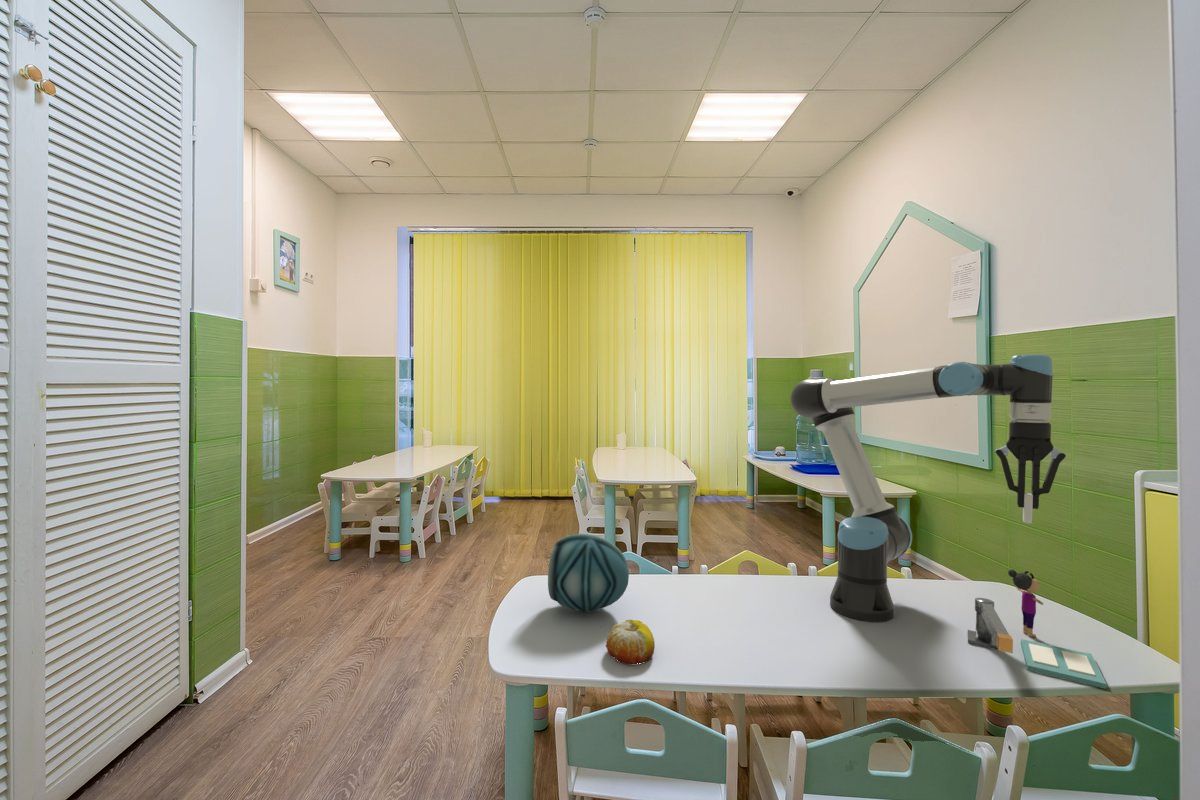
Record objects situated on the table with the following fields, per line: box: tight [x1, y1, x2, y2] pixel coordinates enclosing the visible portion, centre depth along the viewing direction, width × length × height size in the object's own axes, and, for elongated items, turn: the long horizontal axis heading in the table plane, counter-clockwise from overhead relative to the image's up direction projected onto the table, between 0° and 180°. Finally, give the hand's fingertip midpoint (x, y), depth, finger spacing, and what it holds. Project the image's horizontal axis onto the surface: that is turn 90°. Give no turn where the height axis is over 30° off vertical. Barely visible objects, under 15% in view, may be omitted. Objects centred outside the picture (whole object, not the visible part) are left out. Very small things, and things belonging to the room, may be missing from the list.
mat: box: [1020, 638, 1107, 690], centre depth 111 cm, size 12×14×1 cm
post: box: [967, 611, 999, 651], centre depth 121 cm, size 6×6×7 cm
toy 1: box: [547, 533, 630, 613], centre depth 136 cm, size 19×20×20 cm
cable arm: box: [974, 597, 1014, 654], centre depth 112 cm, size 22×4×3 cm, turn 153°
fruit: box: [605, 619, 656, 665], centre depth 114 cm, size 11×10×8 cm
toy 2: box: [1007, 569, 1044, 638], centre depth 125 cm, size 10×6×15 cm, turn 168°
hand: (1027, 521), depth 122 cm, fingers closed
